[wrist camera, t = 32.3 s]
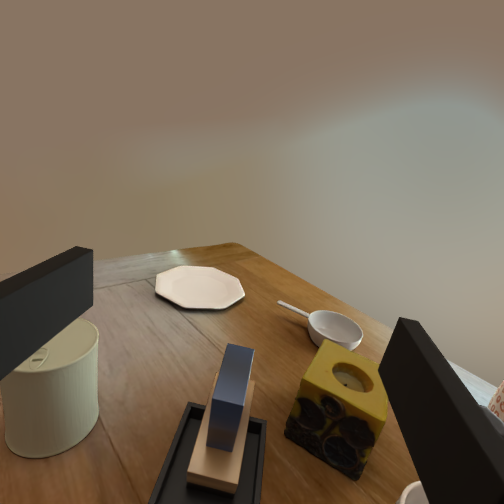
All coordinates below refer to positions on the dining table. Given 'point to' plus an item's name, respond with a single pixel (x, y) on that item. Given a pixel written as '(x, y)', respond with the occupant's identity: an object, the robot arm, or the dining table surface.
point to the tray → (178, 458)
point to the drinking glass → (413, 494)
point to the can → (53, 394)
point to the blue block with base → (224, 427)
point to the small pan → (330, 327)
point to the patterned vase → (498, 402)
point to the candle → (339, 408)
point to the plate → (199, 287)
